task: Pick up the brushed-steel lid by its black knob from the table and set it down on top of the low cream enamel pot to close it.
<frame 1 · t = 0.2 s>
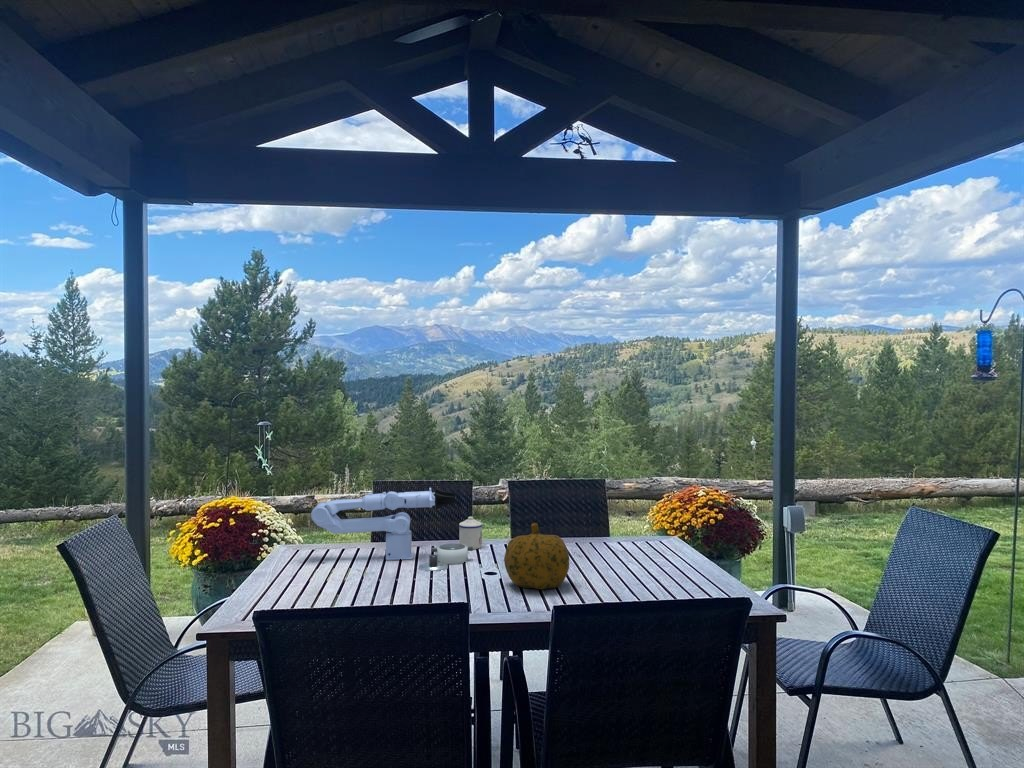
hand: (454, 498, 267), 21 cm above the table, tool horizontal, fingers open, 7 cm apart
decorative pumpkin: (538, 586, 229), on the table
pot: (452, 560, 260), on the table
lid: (433, 568, 251), on the table
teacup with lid: (469, 546, 282), on the table
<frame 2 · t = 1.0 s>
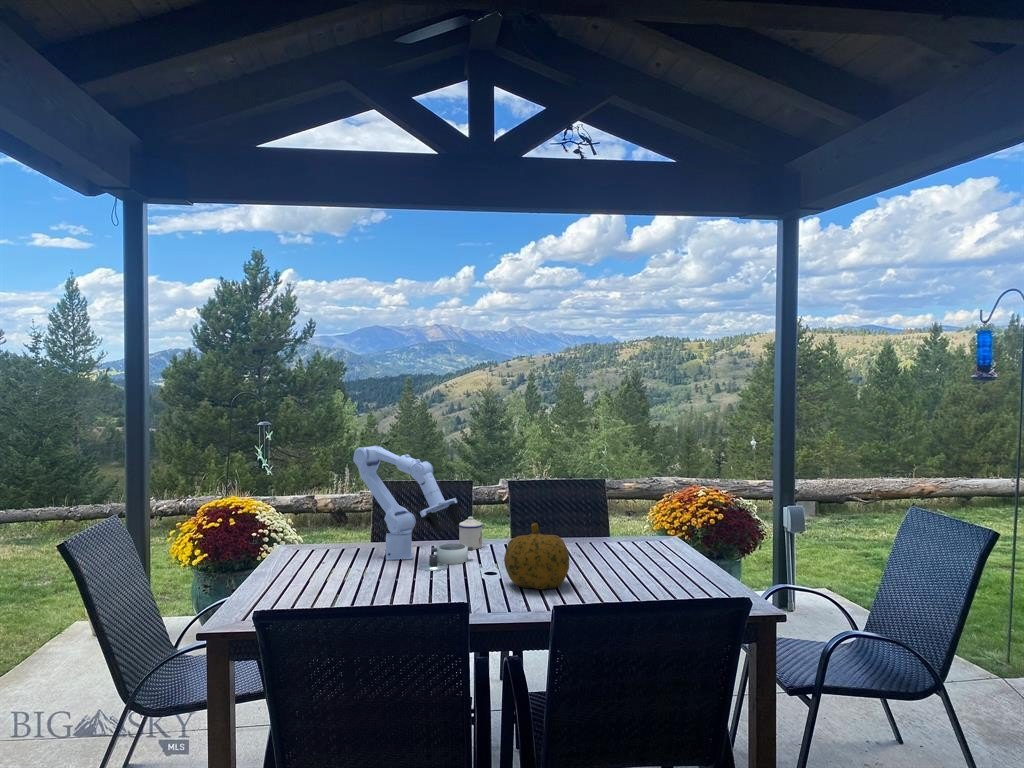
hand: (448, 528, 254), 13 cm above the table, tool tilted 30°, fingers open, 7 cm apart
nothing on the table moved.
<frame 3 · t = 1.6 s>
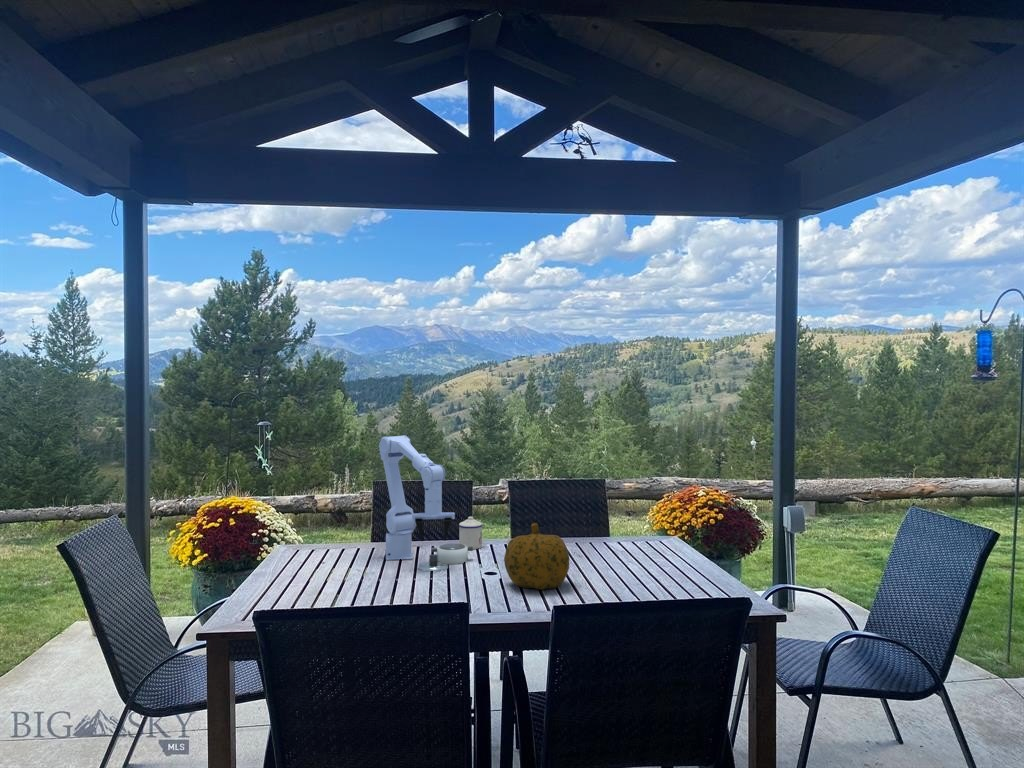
hand: (433, 540, 250), 9 cm above the table, tool pointing down, fingers open, 7 cm apart
nothing on the table moved.
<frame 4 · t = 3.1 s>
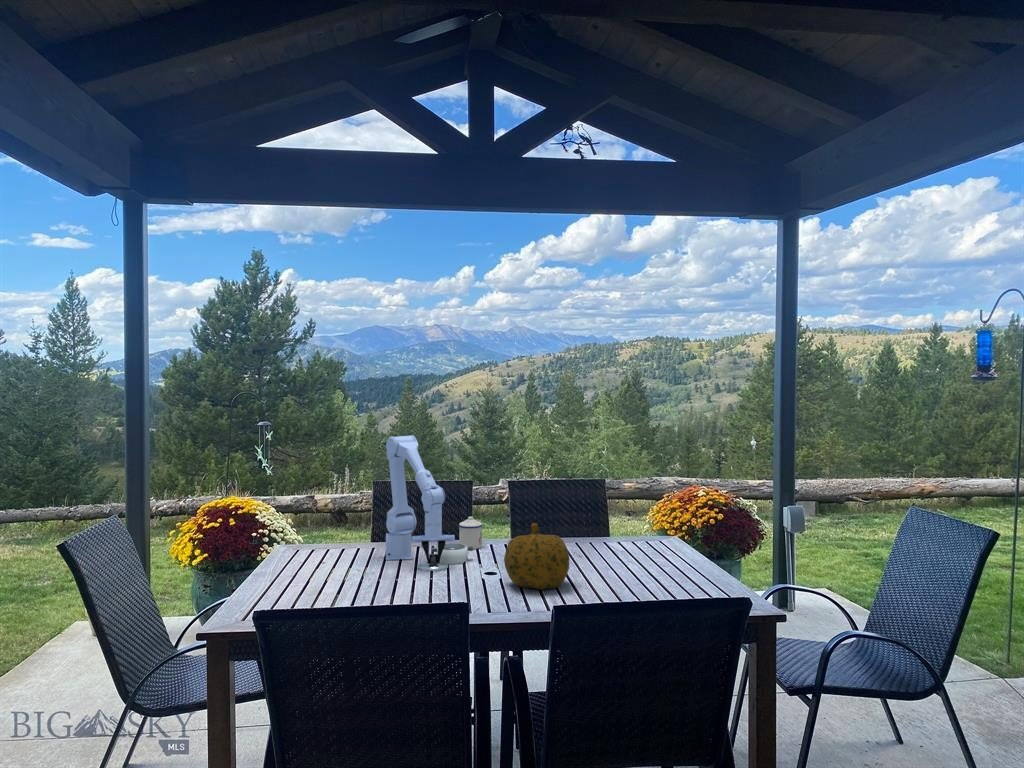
hand: (433, 563, 250), 2 cm above the table, tool pointing down, fingers closed on lid, 3 cm apart
lid: (433, 567, 251), on the table, touching gripper
everything else where it was.
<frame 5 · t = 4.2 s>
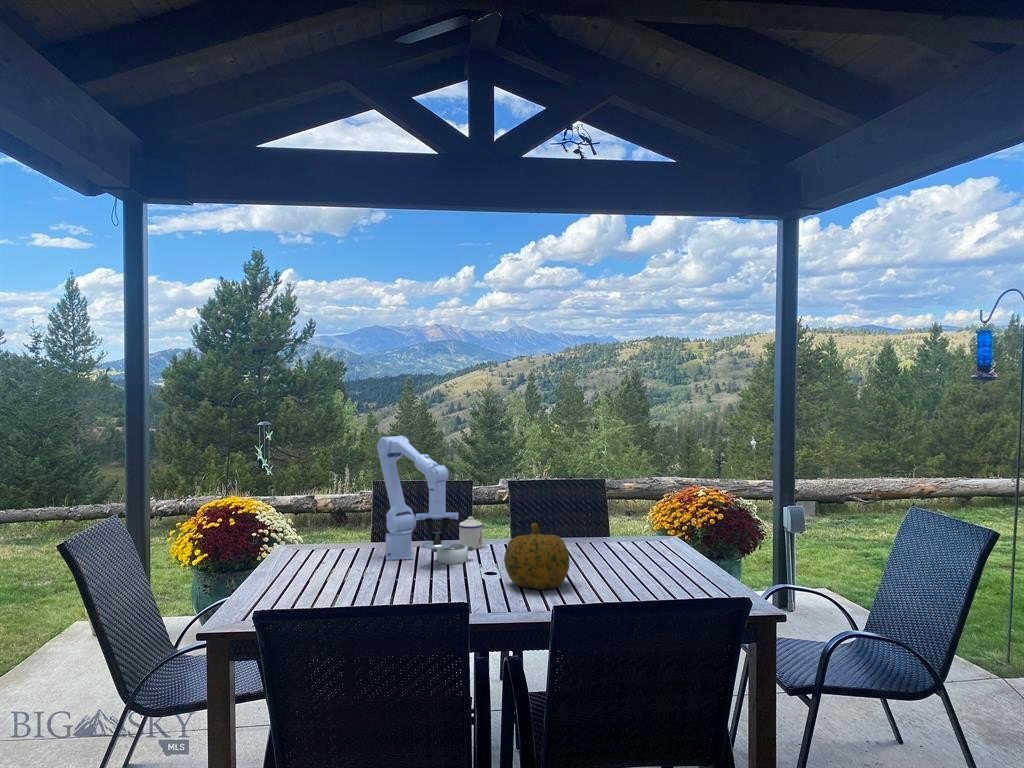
hand: (437, 540, 252), 9 cm above the table, tool pointing down, fingers closed on lid, 3 cm apart
lid: (437, 546, 252), point 7 cm above the table, touching gripper
everything else where it was.
when the fingers open (8 cm above the table, at t = 5.3 s): lid stays where it is, resting on pot.
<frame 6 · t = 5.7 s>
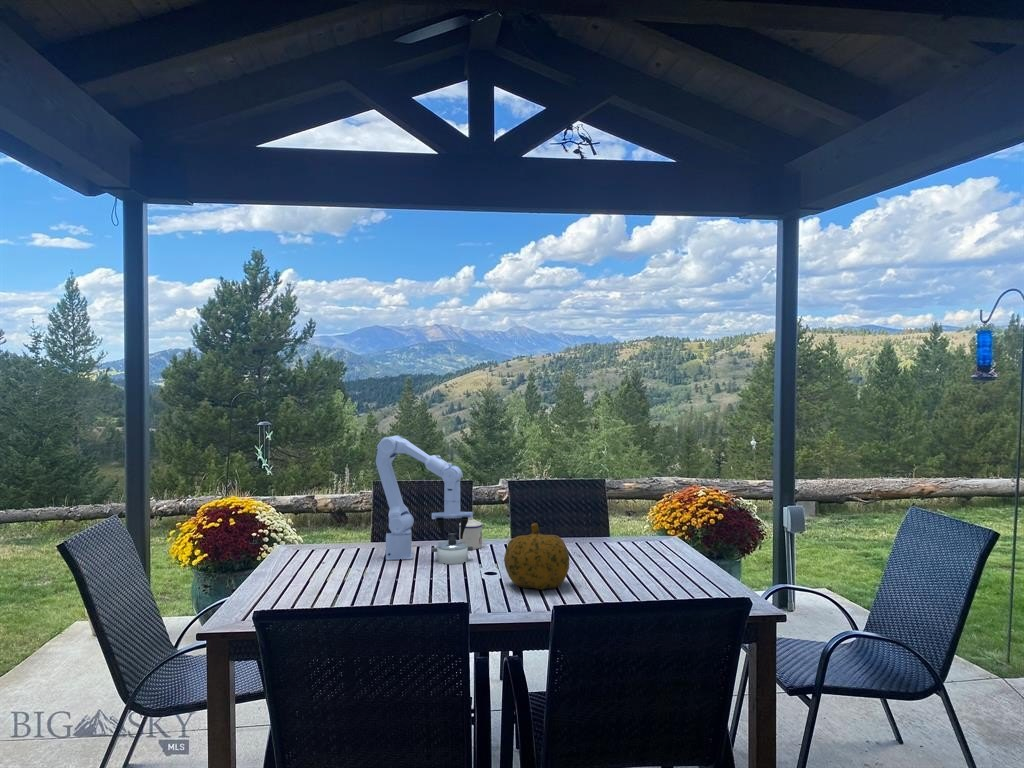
hand: (452, 538, 260), 8 cm above the table, tool pointing down, fingers open, 6 cm apart
lid: (452, 546, 260), point 5 cm above the table, touching pot
everything else where it was.
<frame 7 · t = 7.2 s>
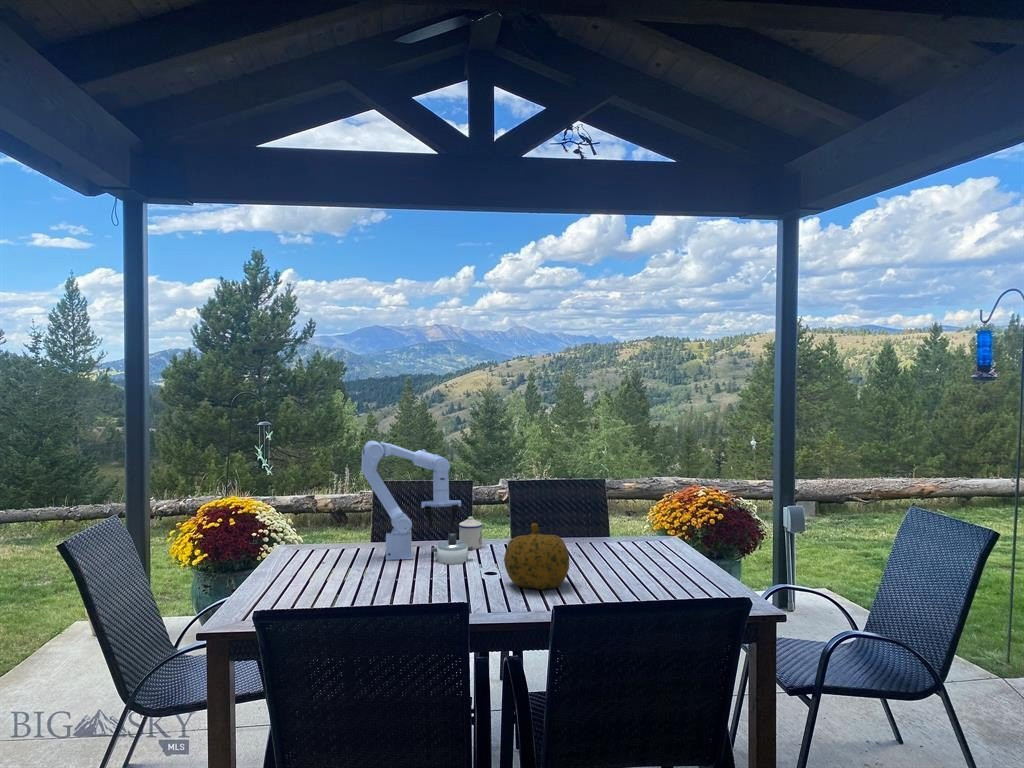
hand: (441, 526, 269), 10 cm above the table, tool pointing down, fingers open, 7 cm apart
nothing on the table moved.
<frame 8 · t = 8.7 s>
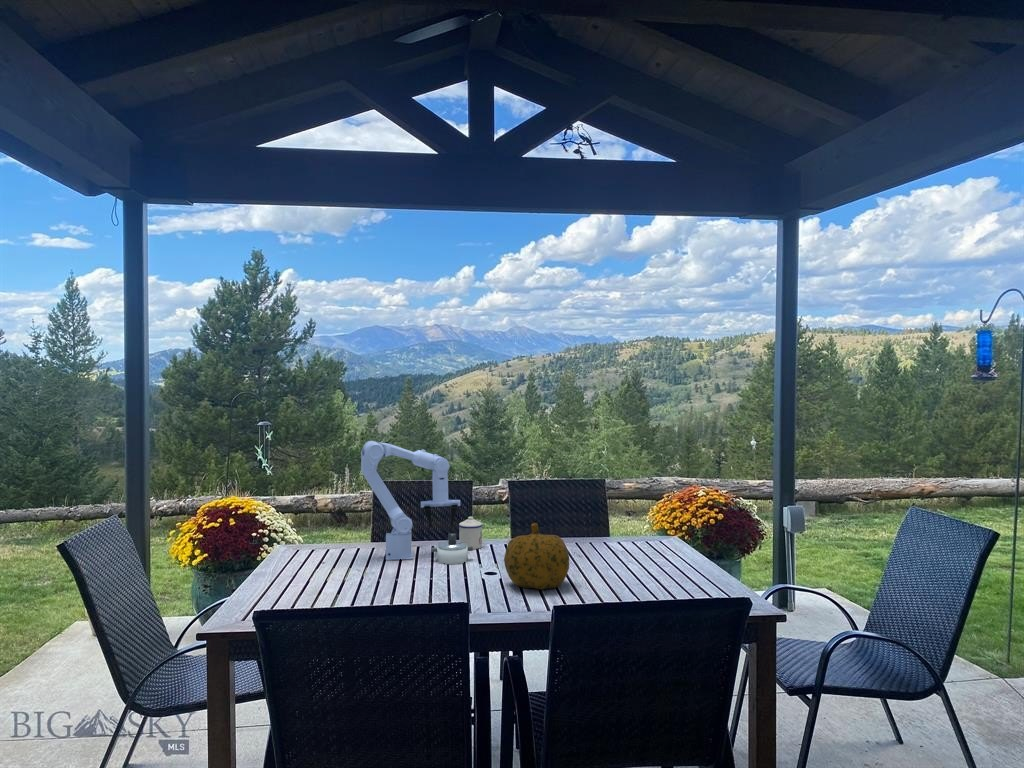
hand: (441, 525, 270), 10 cm above the table, tool pointing down, fingers open, 7 cm apart
nothing on the table moved.
at the end: lid 0.4 cm off-centre on the pot, point 5.0 cm above the pot's base; lid tilted 0°; the gripper is holding nothing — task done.
